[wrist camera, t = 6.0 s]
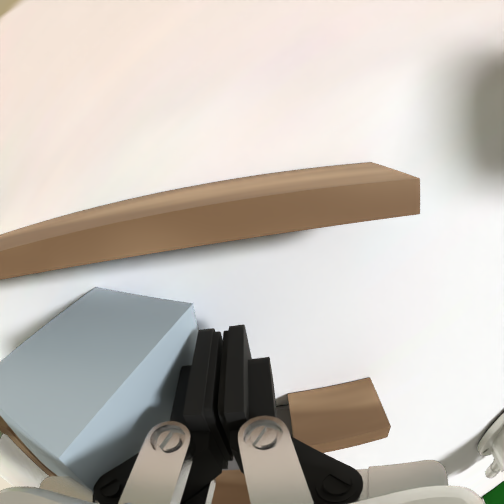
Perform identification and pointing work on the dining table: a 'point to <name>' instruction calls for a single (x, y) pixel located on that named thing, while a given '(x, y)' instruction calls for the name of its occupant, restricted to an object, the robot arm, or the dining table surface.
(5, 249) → the brown open tray piece
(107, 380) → the block
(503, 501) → the milk carton
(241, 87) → the dining table surface
